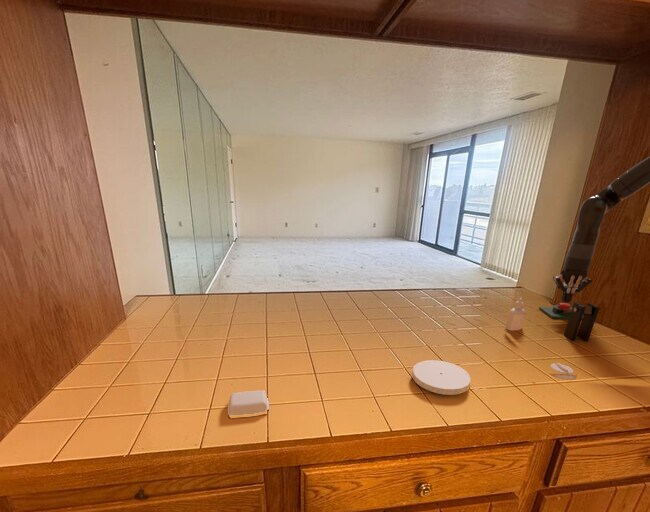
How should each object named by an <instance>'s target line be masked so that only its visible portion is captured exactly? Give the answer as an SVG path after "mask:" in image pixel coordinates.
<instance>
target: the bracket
mask: <svg viewBox="0 0 650 512" xmlns="http://www.w3.org/2000/svg"><path fill="white" fill-rule="evenodd" d="M585 306H592V313H591V314H584V311H585V308H586V307H585ZM571 308H572V311H571V314H570V317H569V320H567V324H566V327H565V331H564V332H563V333H564V334H563V337H565V338H567V339H568V340H569V341H570V342H575V341H576V338H578V339H580V340H581V341H583V342H584V343H588V342H589V340H590V337H591V334H592V331H593V329H594V325H595V322H596V320H597V317H598V315H599V311H600V307H599V306H597V305H595V304H594V303H593V302H587V304H586V305H583V304H581V303H580V302H577V301H575V302H573V304H572V307H571ZM582 317H583V318H582Z"/></svg>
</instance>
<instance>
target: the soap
mask: <svg viewBox="0 0 650 512" xmlns="http://www.w3.org/2000/svg"><path fill="white" fill-rule="evenodd" d="M266 395H267V393H266V390H264V389H260V390H248V391H246V390H245V391H239V392H232V393H231V394H230V396H229V399H230V400H229V399H228V402H229V403H228V402H227V416H228V415H243V414H254V413H259V412H265V411H267V410H268V409H269V410H270V400H269V401H268V399H269V397H268V398H267V396H268V395H267V396H266Z"/></svg>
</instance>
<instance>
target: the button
mask: <svg viewBox="0 0 650 512" xmlns="http://www.w3.org/2000/svg"><path fill="white" fill-rule="evenodd" d="M558 305H559V306H558V308H560V309H570V307H571V304H570V303H564V302H559V303H558Z"/></svg>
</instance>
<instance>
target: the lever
mask: <svg viewBox="0 0 650 512" xmlns="http://www.w3.org/2000/svg"><path fill="white" fill-rule="evenodd" d="M584 306H585V307H586V308H585V311H584V314H591V313H592V306H587V305H584ZM571 311H572V309H555V313H567V314H571ZM584 314H583V315H584Z"/></svg>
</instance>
